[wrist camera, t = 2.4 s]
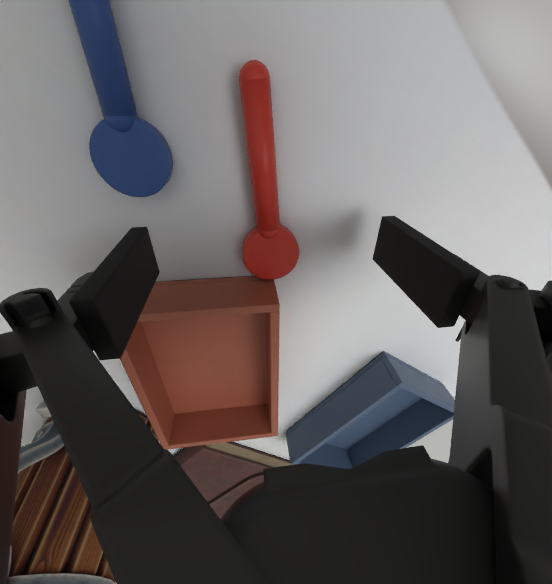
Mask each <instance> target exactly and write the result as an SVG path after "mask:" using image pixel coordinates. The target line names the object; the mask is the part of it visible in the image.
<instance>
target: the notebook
mask: <svg viewBox="0 0 552 584" xmlns="http://www.w3.org/2000/svg"><path fill="white" fill-rule="evenodd" d="M174 458H175V459H176V460H177V462H178V463H179V464H180V466H181V467H182V469H183V470H184V471H185V473H186V474H187V475H188V477H189V478H190V479H191V481H192V482H193V483H194V485H195V486H196V487H197V489H198V490H199V491H200V493H201V494H202V495H203V497H204V498H205V499H206V501H207V502H208V503H209V505H210V506H211V507H212V509H213V510H214V511H215V513H216V514H217V515H218V517H219V518H220V519H221V518H222V516H223V515H224V514H225V512H226V511H227V510H228V509H229V507H230V506H231V505H232V504H233V503H234V502H235V501H236V500H237V499H238V498H239V497H240V496H242V495H243V494H244V493H245V492H247V491H248V490H250V489H251V488H253V487H254V486H256V485H258V484H260V483H262V482H264V473H263V469H268V468H274V467H281V466H288V465H292V464H291V463H290V461H288V460H285V459H282V458H279V457H276V456H273V455H270V454H267V453H264V452H261V451H258V450H255V449H252V448H249V447H246V446H243V445H240V444H237V443H234V442H223V443H215V444H207V445H199V446H190V447H187V448H185V449H184V450H183V451H181V452H180V453H179V454H178V455H176V456H175V457H174Z"/></svg>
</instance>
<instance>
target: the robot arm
mask: <svg viewBox="0 0 552 584" xmlns="http://www.w3.org/2000/svg"><path fill="white" fill-rule="evenodd" d="M373 260H374V261H375V262H376V263H377V264H378V265H379V266H380V267H381V268H382V269H383V270H384V272H385V273H386V274H387V275H388V276H389V277H390V278H391V279H392V280H393V281H394V282H395V283H396V284H397V285H398V286H399V287H400V288H401V289H402V291H403V292H404V293H405V294H406V295H407V296H408V297H409V298H410V299H411V300H412V301H413V302H414V303H415V304H416V305H417V306H418V307H419V308H420V309H421V311H422V312H423V313H424V314H425V315H426V316H427V317H428V318H429V319H430V320H431V321H432V322H433V323H434V324H435V325H436V326H437V327H438V328H441V327H451V326H454V325H455V323H456V321H457V319H458V317H459V315H460V316H462V317H463V318H464V319H465V320H466V321H465V323H464V325H463V327H462V329H461V331H460V333H459V335H458V337H457V338H456V340H455V341H459V340H460V339H461V344H460V355H459V365H458V376H457V386H456V397H455V407H454V418H453V428H452V439H451V449H450V458H449V462H448V463H445V462H442V461H438V460H434V459H431V458H430V457H429V455H428V453H427V452H426V450H425V448H424V446H416V447H409V448H402V449H396V450H389V451H385V452H383V453H381V454H379V455H377V456H375V457H373V458H371V459H369V460H367V461H365V462H363V463H361V464H359V465H358V466H356V467H354V468H350V469H344V468H337V467H330V466H322V465H315V464H308V463H301V464H295V465H288V466H281V467H274V468H268V469H263V473H264V482H262V483H260V484H258V485H256V486H254V487H253V488H251V489H250V490H248V491H247V492H245V493H244V494H243V495H242V496H240V497H239V498H238V499H237V500H236V501H235V502H234V503H233V504H232V505H231V506H230V507H229V509H228V510H227V511H226V512H225V514H224V515H223V516H222V518H221V519H220V518H219V517H218V515H217V514H216V513H215V511H214V510H213V509H212V507H211V506H210V505H209V503H208V502H207V501H206V499H205V498H204V497H203V495H202V494H201V493H200V491H199V490H198V489H197V487H196V486H195V485H194V483H193V482H192V481H191V479H190V478H189V477H188V475H187V474H186V473H185V471H184V470H183V469H182V467H181V466H180V464H179V463H178V462H177V460H176V459H175V458H174V457H173V455H172V454H171V453H170V452H169V451H168V450H165V449H164V448H163V447H162V446H161V444H160V443H159V442H158V440H157V439H156V438H155V436H154V435H153V434H152V432H151V431H150V429H149V428H148V427H147V425H146V424H145V423H144V421H143V420H142V419H141V417H140V416H139V414H138V413H137V412H136V410H135V409H134V408H133V406H132V405H131V404H130V402H129V401H128V399H127V398H126V397H125V395H124V394H123V393H122V391H121V390H120V389H119V387H118V386H117V384H116V383H115V382H114V380H113V379H112V378H111V376H110V375H109V374H108V372H107V371H106V369H105V368H104V367H103V365H102V364H101V363H100V361H99V360H107V359H117V358H121V357H122V355H123V353H124V350H125V348H126V346H127V344H128V342H129V339H130V337H131V335H132V333H133V330H134V328H135V326H136V324H137V321H138V319H139V317H140V315H141V313H142V310H143V308H144V306H145V304H146V301H147V299H148V297H149V295H150V292H151V290H152V288H153V286H154V284H155V281H156V279H157V277H158V275H159V269H158V265H157V262H156V258H155V254H154V251H153V247H152V243H151V240H150V236H149V233H148V229H147V227H135V228H131V229H130V230H129V231H128V233H127V234H126V235H125V236H124V237H123V238H122V240H121V241H120V242H119V243H118V244H117V245H116V247H115V248H114V249H113V250H112V251H111V252H110V254H109V255H108V256H107V257H106V258H105V259H104V261H103V262H102V263H101V264H100V265H99V266H98V268H97V269H96V270H95V271H94V272H91V273H87V274H85V275H83V276H82V277H80V278H78V279H77V280H76V281H75V282H74V283H73V284H72V285H71V287H70V288H69V289H68V290H67V291H66V293H64V294H63V295H62V296H61V297H60V298H59V299H58V301H57V300H56V298H55V296H54V295H53V293H52V291H51V290H49V289H47V288H35V289H29V290H25V291H22V292H19V293H16V294H14V295H12V296H10V297H8V298H6V299H5V300H3V301H2V302H1V303H0V313H1V314H2V316H3V317H4V318H5V320H6V321H7V322H8V324H9V325H10V327H11V328H12V329H13V331H12V332H8V333H4V334H0V584H7V574H8V565H9V555H10V545H11V535H12V526H13V516H14V506H15V496H16V487H17V477H18V467H19V457H20V448H21V438H22V428H23V418H24V408H25V399H26V390H27V389H30V388H33V387H36V386H38V387H39V390H40V392H41V394H42V396H43V399H44V401H45V403H46V405H47V408H48V410H49V412H50V414H51V417H52V419H53V421H54V423H55V426H56V428H57V430H58V432H59V435H60V437H61V439H62V441H63V444H64V446H65V448H66V450H67V453H68V455H69V457H70V459H71V462H72V464H73V466H74V468H75V471H76V473H77V475H78V477H79V480H80V482H81V484H82V486H83V489H84V491H85V493H86V495H87V498H88V500H89V502H90V505H91V507H92V512H91V514H90V518H91V523H92V525H93V528H94V531H95V534H96V536H97V538H98V541H99V543H100V545H101V548H102V550H103V552H104V555H105V557H106V559H107V562H108V564H109V566H110V569H111V571H112V573H113V576H114V578H115V581H116V583H117V584H552V281H548V282H547V283H546V285H545V286H544V288H543V289H542V291H537V290H528V287H527V286H526V285H525V284H524V283H522V282H521V281H518V280H516V279H514V278H511V277H507V276H501V275H491V276H488V275H486V274H485V273H483V272H481V271H480V270H478V269H477V268H475V267H474V266H472V265H470V264H469V263H467V262H466V261H463V259H461V258H460V257H458V256H457V255H455V254H453V253H451V252H449V251H448V250H446V249H445V248H443V247H442V246H440V245H439V244H437V243H435V242H434V241H432V240H431V239H429V238H428V237H426V236H425V235H423V234H422V233H420V232H418V231H417V230H415V229H414V228H412V227H411V226H409V225H408V224H406V223H405V222H403V221H401V220H400V219H398V218H397V217H395V216H384V217H382V220H381V224H380V229H379V233H378V237H377V242H376V246H375V251H374V255H373ZM93 350H95V352H96V354H97V356H98V358H99V360H98V359H97V357H96V356H95V354H94V353H93Z"/></svg>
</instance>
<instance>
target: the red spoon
mask: <svg viewBox="0 0 552 584" xmlns="http://www.w3.org/2000/svg"><path fill="white" fill-rule="evenodd" d="M239 84H240V92H241V100H242V109H243V117H244V125H245V134H246V142H247V151H248V159H249V167H250V176H251V184H252V192H253V201H254V209H255V217H256V226H257V227H255V228H254V229H253V230H251V231H250V232H249V233H248V235H247V236H246V238H245V240H244V242H243V249H242V251H243V261H244V264H245V266H246V268H247V269H248V270H249V271H250V272H251V273H252V274H253V275H255V276H257V277H259V278H262V279H268V280H271V279H278V278H281V277H283V276H285V275H287V274H288V273H289V272H290V271H291V270H292V269H293V268H294V267H295V265H296V263H297V261H298V258H299V247H298V244H297V242H296V240H295V237H294V236H293V234H292V233H291V231H289V230H288V229H287V228H286V227H284V226H282V225H280V220H279V206H278V191H277V176H276V161H275V147H274V132H273V117H272V103H271V88H270V76H269V72H268V70H267V68H266V67H265V65H264V64H263V63H261V62H260V61H257V60H250V61H248V62H246V63H245V64H244V65H243V67H242V68H241V70H240V74H239Z"/></svg>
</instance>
